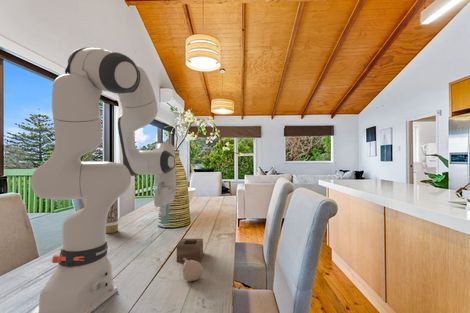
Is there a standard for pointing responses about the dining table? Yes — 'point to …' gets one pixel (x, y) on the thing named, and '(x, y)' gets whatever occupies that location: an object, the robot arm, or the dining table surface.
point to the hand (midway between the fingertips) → (165, 214)
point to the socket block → (190, 250)
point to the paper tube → (112, 218)
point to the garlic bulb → (192, 270)
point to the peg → (165, 218)
